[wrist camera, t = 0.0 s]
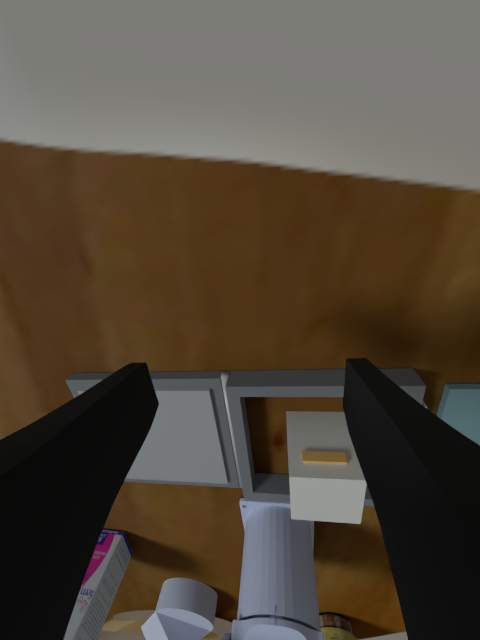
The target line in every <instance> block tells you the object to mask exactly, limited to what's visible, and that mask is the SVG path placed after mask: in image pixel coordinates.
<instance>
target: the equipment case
mask: <svg viewBox="0 0 480 640" xmlns="http://www.w3.org/2000/svg"><path fill="white" fill-rule="evenodd" d="M345 370H346V369H320V370H249V371H179V372H149V373H150V377H151V380H152V383H153V386H154V389H155V393H156V396H157V399H158V402H159V406H158V409H157V412H156V415H155V418H154V421H153V423H152V426H151V429H150V431H149V433H148V435H147V437H146V439H145V441H144V443H143V445H142V447H141V449H140V451H139V453H138V455H137V457H136V459H135V461H134V463H133V465H132V467H131V468H130V470H129V472H128V474H127V476H126V478H125V480H124V481H125V482H143V483H161V484H179V485H198V486H216V487H234V488H239V487H240V488H242V490H243V496H244V498H248V499H264V500H280V501H290V485H289V474H267V473H255V472H254V464H253V457H252V449H251V441H250V434H249V426H248V418H247V410H246V403H245V397H343V396H344V383H345ZM379 370H380V371H381V372H382V373H384V374H385V375H386V376H387V377H388V378H390V379H391V380H392V381H393V382H394V383H395V384H397V385H398V386H399V387H400V388H401V389H403V390H404V391H405V392H406V393H408V394H409V395H410V396H411V397H413V398H414V399H415V400H416V401H418V402H419V403H420V404H422V405H423V406H424V407H425V408H427V406H426V404H425V403H424V401H423V397H424V393H425V389H426V385H425V383H424V382H423V381H422V380H421V378H420V377H419V376H418V374H417V373H416V372H415V370H414V369H413V368H391V369H379ZM113 373H115V372H108V373H73V374H71V375H70V376H69V377H68V378H67V379H66V382H67V384H68V386H69V388H70V390H71V392H72V395H73V397H74V398H75V397H77V396H79V395H80V394H82V393H83V392H85V391H86V390H88V389H89V388H91V387H93V386H94V385H96V384H97V383H99V382H100V381H102V380H104V379H105V378H107V377H108V376H110V375H111V374H113ZM363 506H374V504H373V501H372V498H371V495H370V492H369V489H368V487H367V486H366V492H365V498H364V505H363Z"/></svg>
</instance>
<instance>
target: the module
mask: <svg viewBox="0 0 480 640" xmlns="http://www.w3.org/2000/svg"><path fill="white" fill-rule="evenodd" d="M286 419H287V441H288V464H289V485H290V507H291V519H296V520H310V521H325V522H339V523H353V524H361V518H362V511H363V505H364V498H365V492H366V486H367V484H366V481H365V478H364V475H363V472H362V470H361V467H360V464H359V461H358V458H357V455H356V452H355V450H354V447H353V444H352V441H351V438H350V435H349V431H348V427H347V423H346V418H345V413H344V412H294V411H286Z"/></svg>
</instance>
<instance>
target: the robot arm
mask: <svg viewBox="0 0 480 640" xmlns="http://www.w3.org/2000/svg"><path fill="white" fill-rule="evenodd" d="M158 406H159V402H158V399H157V396H156V393H155V389H154V386H153V383H152V380H151V377H150V373H149V370H148V367H147V364H146V363H130V364H128V365H126V366H125V367H123V368H121V369H119V370H118V371H116V372H115V373H113V374H111V375H110V376H108V377H107V378H105V379H104V380H102V381H100V382H99V383H97V384H96V385H94V386H93V387H91V388H89V389H88V390H86V391H85V392H83V393H82V394H80V395H79V396H77V397H75V398H74V399H72V400H70V401H69V402H67V403H65V404H64V405H62V406H60V407H59V408H57V409H56V410H54V411H52V412H51V413H49V414H47V415H46V416H44V417H42V418H40V419H39V420H37V421H35V422H33V423H32V424H30V425H28V426H26V427H24V428H22V429H20V430H19V431H17V432H15V433H13V434H11V435H9V436H7V437H5V438H3V439H1V440H0V640H64V637H65V633H66V630H67V627H68V624H69V621H70V618H71V615H72V612H73V609H74V606H75V603H76V600H77V597H78V595H79V592H80V589H81V586H82V583H83V580H84V577H85V574H86V572H87V569H88V566H89V564H90V561H91V558H92V556H93V553H94V550H95V548H96V545H97V542H98V540H99V537H100V535H101V532H102V530H103V527H104V525H105V522H106V520H107V517H108V515H109V512H110V510H111V507H112V505H113V503H114V501H115V498H116V496H117V494H118V492H119V490H120V488H121V486H122V484H123V482H124V480H125V478H126V476H127V474H128V472H129V470H130V468H131V467H132V465H133V463H134V461H135V459H136V457H137V455H138V453H139V451H140V449H141V447H142V445H143V443H144V441H145V439H146V437H147V435H148V433H149V431H150V429H151V426H152V423H153V421H154V418H155V415H156V412H157V409H158ZM343 409H344V413H345V418H346V423H347V427H348V431H349V435H350V438H351V441H352V444H353V447H354V450H355V452H356V455H357V458H358V461H359V464H360V467H361V470H362V472H363V475H364V478H365V481H366V484H367V487H368V489H369V492H370V495H371V498H372V501H373V504H374V507H375V510H376V513H377V516H378V520H379V523H380V527H381V530H382V534H383V538H384V542H385V546H386V550H387V554H388V558H389V561H390V565H391V569H392V574H393V578H394V582H395V586H396V590H397V594H398V598H399V602H400V606H401V610H402V615H403V619H404V623H405V628H406V632H407V636H408V640H480V445H478V444H477V443H475V442H474V441H472V440H471V439H469V438H467V437H466V436H465V435H463V434H462V433H460V432H459V431H457V430H456V429H454V428H453V427H451V426H450V425H449V424H447V423H446V422H445V421H443V420H442V419H440V418H439V417H438V416H436V415H435V414H434V413H432V412H431V411H429V410H428V409H427V408H425V407H424V406H423V405H422V404H420V403H419V402H418V401H416V400H415V399H414V398H413V397H411V396H410V395H409V394H408V393H406V392H405V391H404V390H403V389H401V388H400V387H399V386H398V385H397V384H395V383H394V382H393V381H392V380H391V379H390V378H388V377H387V376H386V375H385V374H384V373H382V372H381V371H380V370H379V369H378V368H377V367H376V366H374V365H373V364H372V363H371V362H370V361H368V360H367V359H366V358H354V359H346V370H345V383H344V396H343ZM240 508H241V514H242V519H243V525H244V531H245V539H244V550H243V561H242V572H241V583H240V594H239V605H238V616H237V620H233V624H232V633H226V634H224V636H223V638H222V640H324V633H323V631H321V627H320V617H319V607H318V597H317V587H316V577H315V567H314V557H313V551H314V521H310V520H296V519H291V507H290V501H280V500H264V499H248V498H241V499H240Z"/></svg>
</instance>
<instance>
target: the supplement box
mask: <svg viewBox="0 0 480 640" xmlns="http://www.w3.org/2000/svg"><path fill="white" fill-rule="evenodd" d="M132 553H133V551H132V548H131V546H130V544H129V541H128V539H127V536H126V534H125V532H123V531H112V530H105V529H103V530H102V532H101V535H100V537H99V540H98V542H97V545H96V548H95V550H94V553H93V556H92V558H91V561H90V564H89V566H88V569H87V572H86V574H85V577H84V580H83V583H82V586H81V589H80V592H79V595H78V597H77V600H76V603H75V606H74V609H73V612H72V615H71V618H70V621H69V624H68V627H67V630H66V633H65V637H64V640H97V639H98V636H99V634H100V631H101V629H102V626H103V624H104V622H105V619H106V617H107V614H108V612H109V609H110V607H111V604H112V602H113V600H114V597H115V595H116V592H117V590H118V587H119V585H120V583H121V580H122V578H123V575H124V573H125V570H126V568H127V565H128V563H129V561H130V558H131V555H132Z"/></svg>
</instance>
